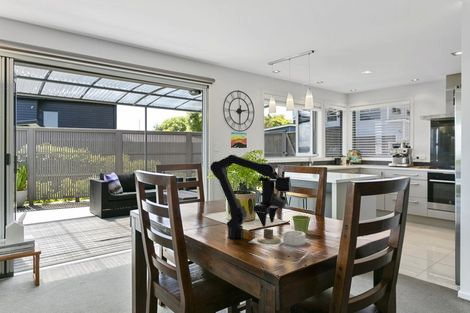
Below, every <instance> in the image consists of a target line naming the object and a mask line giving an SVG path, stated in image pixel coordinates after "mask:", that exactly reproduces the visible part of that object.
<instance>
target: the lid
mask: <svg viewBox="0 0 470 313" xmlns="http://www.w3.org/2000/svg"><path fill="white" fill-rule="evenodd" d="M256 238H257V242H259V243H263V244H276V243H279V242H280V238H281V237H279V236H278V235H274V229H271V228H264V229H263V234H261V235H258V236H257V237H256Z"/></svg>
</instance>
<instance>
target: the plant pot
mask: <svg viewBox="0 0 470 313" xmlns="http://www.w3.org/2000/svg"><path fill="white" fill-rule="evenodd" d="M291 218H292V221H293V227H294V231H301V232H304V233H305V234H306V235H308V232H309V225H310V221H311V219H312V218H311V216H308V215H300V214H299V215H293V216H292V217H291Z"/></svg>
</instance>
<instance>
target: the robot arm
mask: <svg viewBox="0 0 470 313" xmlns="http://www.w3.org/2000/svg"><path fill="white" fill-rule="evenodd" d="M232 165H237V166H239V167H240V166H241V167H243V168H245V169H246V168H247V169H249V170H252V171H255V172H257V173H258V174H260V175H261V176H260V177H259V178H258V179H257V182H261V187H262V188H261V192H260V195H259V196H261V201H260V203H258V204H255V205H254V206H253V212H255V213H256V215H257V217H258V219H259V221H260V223H261V226H262V227H265V228H266V224H267V218H269V221H270V223H271V224H273V223H274V221H275V217H276V215H277V212H278V210H280V209H281V210H282V209H284V208H286V205H287V204H288V200H287V197H286V196H281V197H280V196H279V197H278V196H277V193H276V192H275V190H277V192H280V193H281V192H284V193H285V192H287V193H290V192H291V191H292V183H291V177H290V176H280V174H278V173H277V171H276V167H275V165H274V164H273V163H268V162H267V163H264V162H256V161H254V160H250V159H247V158H245V157H240V156H238V155H236V154H230V155H228V156H226V157H224V158H222V159H220V160H217V161H213V162H211V164H210V171H211V173H212V174H213V176H214V177H215V178H216V179H217V181H219V184H220V187H221V189H222V192H223V194H224V196H225V198H226V202H227V203H228V206H229V212H230V214H229V215H230V219H229V220H228V221H227V222H226V225H227V230H228V231H227V232H228V237H227V239H230V240H235V241H239V240H241V239H243V238H244V228H243V224H244V222H245V221H246V220H247V218H248V215H247V214H248V211H247V210H246V207H245V206H244V205H241V204H240V203H239V201H238V199H237V196H236V194H235V192H234V189H233V187H232V184H231V182H230V180H229V178H228V169H227V168H228V167H230V166H232ZM267 216H269V217H267Z"/></svg>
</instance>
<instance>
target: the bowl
mask: <svg viewBox="0 0 470 313" xmlns="http://www.w3.org/2000/svg"><path fill="white" fill-rule="evenodd" d="M306 235H307V234H305V233H304V232H301V231H295V230H284V231H283V232H282V238H283V243H282V244H285V245H289V246H291V245H292V246H301V245H305V244H306V242H307V241H306V238H307V237H306Z"/></svg>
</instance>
